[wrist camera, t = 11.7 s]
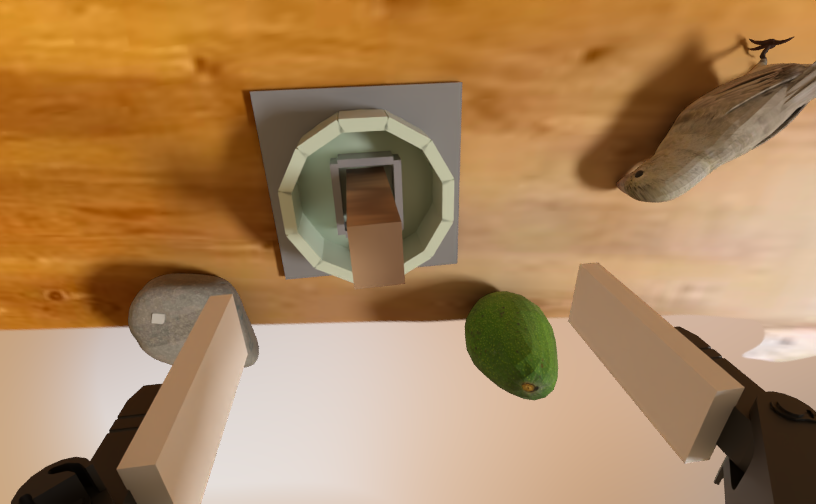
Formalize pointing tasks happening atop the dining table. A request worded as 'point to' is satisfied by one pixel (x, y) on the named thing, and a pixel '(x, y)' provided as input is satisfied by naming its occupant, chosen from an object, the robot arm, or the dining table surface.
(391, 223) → the wooden rectangular beam
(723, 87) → the decorative bird
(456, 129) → the square base green ring
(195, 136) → the dining table surface
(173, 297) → the stone
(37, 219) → the dining table surface
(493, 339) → the fruit
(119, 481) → the robot arm
